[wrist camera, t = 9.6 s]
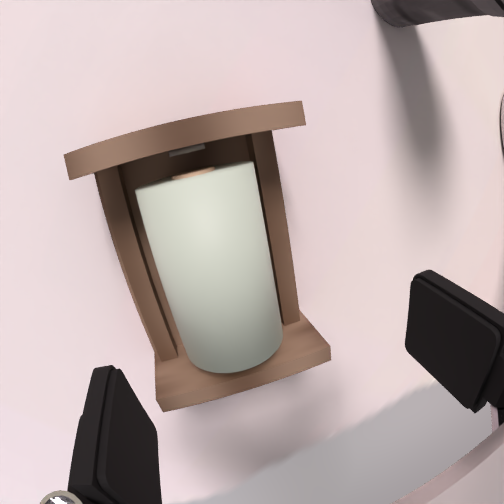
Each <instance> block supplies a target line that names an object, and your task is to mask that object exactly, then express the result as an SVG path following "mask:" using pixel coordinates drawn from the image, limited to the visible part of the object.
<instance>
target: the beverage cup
mask: <svg viewBox="0 0 504 504" xmlns="http://www.w3.org/2000/svg"><path fill="white" fill-rule="evenodd" d="M371 2H372V4H373V6H374V9H375V10H376V11H377V13H378V14H379V15H380V16H381V17H382V18H383V19H384V20H385V21H386V22H388V23H389V24H391V25H393V26H396V27H405V26H410V25H419V24H424V23H430V22H435V21H441V20H448V19H455V18H463V17H472V16H482V15H490V16H497V17H504V0H371Z"/></svg>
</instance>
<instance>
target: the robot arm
mask: <svg viewBox="0 0 504 504" xmlns="http://www.w3.org/2000/svg"><path fill="white" fill-rule="evenodd" d="M501 132H502V140H503V146H504V97H503V101H502V107H501ZM405 347H406V350H407V352H408V353H409V354H410V355H411V356H412V357H413V358H414V359H415V360H416V361H418V362H419V363H420V364H421V365H422V366H423V367H424V368H425V369H426V370H427V371H428V372H429V373H430V374H431V375H432V376H433V377H434V378H435V379H436V380H437V381H438V382H439V383H440V384H441V385H442V386H444V387H445V388H446V389H447V390H448V391H449V392H450V393H451V394H452V395H453V396H454V397H455V398H456V399H457V400H458V401H459V402H460V403H461V404H462V405H463V406H464V407H465V408H467V409H468V408H470V409H471V410H472V411H473V412H474V413H476V412H477V411H479V410H480V409H481V408H482V407H484V406H485V404H486V402H487V401H488V402H489V403H490V404H491V418H492V434H491V435H490V436H488V437H487V438H486V439H485V440H484V441H482V442H481V443H480V444H479V445H478V446H476V447H475V448H474V449H473V450H471V451H470V452H469V453H468V454H466V455H465V456H464V457H462V458H461V459H460V460H458V461H457V462H456V463H454V464H453V465H452V466H451V467H449V468H448V469H446V470H445V471H443V472H442V473H440V474H439V475H437V476H436V477H435V478H433V479H432V480H430V481H428V482H427V483H425V484H424V485H422V486H420V487H419V488H417V489H416V490H414V491H412V492H411V493H409V494H408V495H405V496H404V497H402V498H400V499H398V500H397V501H395V502H393V503H391V504H504V313H502V312H501V311H499V310H497V309H496V308H494V307H493V306H491V305H489V304H488V303H486V302H485V301H483V300H481V299H480V298H478V297H476V296H475V295H473V294H472V293H470V292H468V291H467V290H465V289H463V288H462V287H460V286H458V285H456V284H455V283H453V282H451V281H450V280H448V279H446V278H444V277H443V276H441V275H439V274H437V273H436V272H434V271H432V270H426V271H423V272H421V273H418V274H416V275H415V276H414V278H413V281H412V282H411V285H410V299H409V311H408V321H407V330H406V338H405ZM40 504H162V498H161V487H160V474H159V458H158V438H157V431H156V428H155V426H154V424H153V422H152V421H151V419H150V418H149V416H148V415H147V413H146V411H145V410H144V408H143V407H142V405H141V403H140V402H139V400H138V398H137V397H136V395H135V393H134V391H133V390H132V388H131V386H130V384H129V383H128V381H127V379H126V377H125V375H124V374H123V372H122V370H121V369H116V368H115V367H114V366H113V365H109V366H104V367H98V368H95V369H94V370H93V372H92V376H91V380H90V384H89V388H88V393H87V397H86V401H85V406H84V410H83V415H82V416H81V417H80V420H79V424H78V429H77V434H76V439H75V445H74V450H73V456H72V462H71V469H70V475H69V483H68V490H67V491H61V490H60V491H54V492H52V493H50V494H48V495H46V496H45V497H44V498H43V499H42V501H41V502H40Z"/></svg>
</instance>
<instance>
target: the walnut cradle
mask: <svg viewBox="0 0 504 504" xmlns="http://www.w3.org/2000/svg"><path fill="white" fill-rule="evenodd" d="M303 125H306V122H305V116H304V110H303V105H302V101H294V102H285V103H276V104H268V105H261V106H254V107H247V108H240V109H234V110H228V111H223V112H217V113H212V114H207V115H202V116H197V117H192V118H187V119H183V120H178V121H174V122H170V123H166V124H161V125H157V126H153V127H150V128H146V129H142V130H138V131H135V132H131V133H128V134H124V135H121V136H118V137H114V138H111V139H108V140H105V141H102V142H98V143H95V144H92V145H89V146H86V147H84V148H81V149H78V150H75V151H72V152H69V153H67V154H64V158H65V163H66V167H67V172H68V176H69V180H73V179H76V178H79V177H82V176H85V175H88V174H92V173H94V175H95V179H96V183H97V187H98V191H99V195H100V199H101V202H102V206H103V210H104V213H105V217H106V220H107V223H108V227H109V230H110V233H111V237H112V240H113V243H114V246H115V249H116V252H117V256H118V259H119V262H120V264H121V267H122V270H123V273H124V276H125V279H126V282H127V284H128V287H129V290H130V293H131V295H132V298H133V301H134V303H135V306H136V308H137V311H138V313H139V316H140V318H141V321H142V323H143V326H144V328H145V331H146V333H147V335H148V338H149V340H150V343H151V345H152V347H153V349H154V352H155V388H156V401H157V402H158V404H159V406H160V408H161V409H162V411H163V412H167V411H171V410H176V409H180V408H184V407H188V406H192V405H196V404H200V403H204V402H208V401H212V400H215V399H219V398H222V397H226V396H229V395H233V394H236V393H239V392H243V391H246V390H249V389H252V388H255V387H259V386H262V385H265V384H268V383H271V382H274V381H277V380H279V379H282V378H285V377H288V376H291V375H294V374H296V373H299V372H302V371H304V370H307V369H310V368H312V367H315V366H317V365H320V364H322V363H325V362H327V361H330V360H331V350H330V345H329V344H328V343H327V342H326V341H325V339H324V338H323V337H322V336H321V335H320V333H319V332H318V331H317V330H316V329H315V328H314V326H313V325H312V324H311V323H310V322H309V321H308V319H307V318H306V317H305V316H304V315H303V314H302V312H301V311H300V310H299V305H298V297H297V290H296V282H295V275H294V268H293V260H292V253H291V247H290V240H289V233H288V226H287V220H286V213H285V207H284V201H283V194H282V188H281V182H280V176H279V170H278V164H277V158H276V153H275V147H274V141H273V136H272V130H277V129H283V128H289V127H296V126H303ZM241 161H252V162H253V163H254V169H255V174H256V180H257V185H258V191H259V196H260V202H261V207H262V213H263V218H264V224H265V230H266V235H267V241H268V247H269V252H270V258H271V264H272V270H273V276H274V282H275V288H276V293H277V299H278V305H279V311H280V317H281V324H282V330H283V339H282V342H281V345H280V346H279V348H278V349H277V351H276V352H275V353H274V354H273V355H272V356H271V357H270V358H268V359H267V360H266V361H264V362H262V363H261V364H259V365H257V366H255V367H252V368H249V369H247V370H243V371H239V372H233V373H214V372H209V371H205V370H203V369H200V368H199V367H197V366H195V365H194V364H193V363H192V362H191V361H190V359H189V357H188V355H187V353H186V350H185V347H184V345H183V342H182V340H181V337H180V334H179V331H178V329H177V326H176V323H175V320H174V318H173V315H172V312H171V309H170V306H169V303H168V300H167V298H166V295H165V292H164V289H163V286H162V282H161V279H160V276H159V273H158V270H157V267H156V264H155V260H154V257H153V254H152V251H151V247H150V244H149V240H148V237H147V234H146V230H145V226H144V223H143V219H142V216H141V212H140V208H139V204H138V201H137V197H136V193H135V189H137V188H138V187H140V186H142V185H145V184H147V183H150V182H153V181H155V180H158V179H162V178H165V177H168V176H171V175H175V174H179V173H182V172H186V171H189V170H194V169H198V168H203V167H208V166H214V165H219V164H225V163H232V162H241Z"/></svg>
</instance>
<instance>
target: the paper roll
mask: <svg viewBox="0 0 504 504" xmlns="http://www.w3.org/2000/svg"><path fill="white" fill-rule="evenodd" d="M135 193H136V197H137V201H138V204H139V208H140V212H141V216H142V219H143V223H144V226H145V230H146V234H147V237H148V240H149V244H150V247H151V251H152V254H153V257H154V260H155V264H156V267H157V270H158V273H159V276H160V279H161V282H162V286H163V289H164V292H165V295H166V298H167V300H168V303H169V306H170V309H171V312H172V315H173V318H174V320H175V323H176V326H177V329H178V331H179V334H180V337H181V340H182V342H183V345H184V347H185V350H186V353H187V355H188V357H189V359H190V361H191V362H192V363H193V364H194V365H195V366H197V367H199V368H200V369H203V370H205V371H209V372H214V373H233V372H239V371H243V370H247V369H249V368H252V367H255V366H257V365H259V364H261V363H262V362H264V361H266V360H267V359H268V358H270V357H271V356H272V355H273V354H274V353H275V352H276V351H277V349H278V348H279V346H280V345H281V342H282V339H283V330H282V324H281V317H280V311H279V305H278V299H277V293H276V288H275V282H274V276H273V270H272V264H271V258H270V252H269V247H268V241H267V235H266V230H265V224H264V218H263V213H262V207H261V202H260V196H259V191H258V185H257V180H256V174H255V169H254V163H253V162H252V161H241V162H232V163H225V164H219V165H214V166H208V167H203V168H198V169H194V170H189V171H186V172H182V173H179V174H175V175H171V176H168V177H165V178H162V179H158V180H155V181H153V182H150V183H147V184H145V185H142V186H140V187H138V188H137V189H135Z"/></svg>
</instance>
